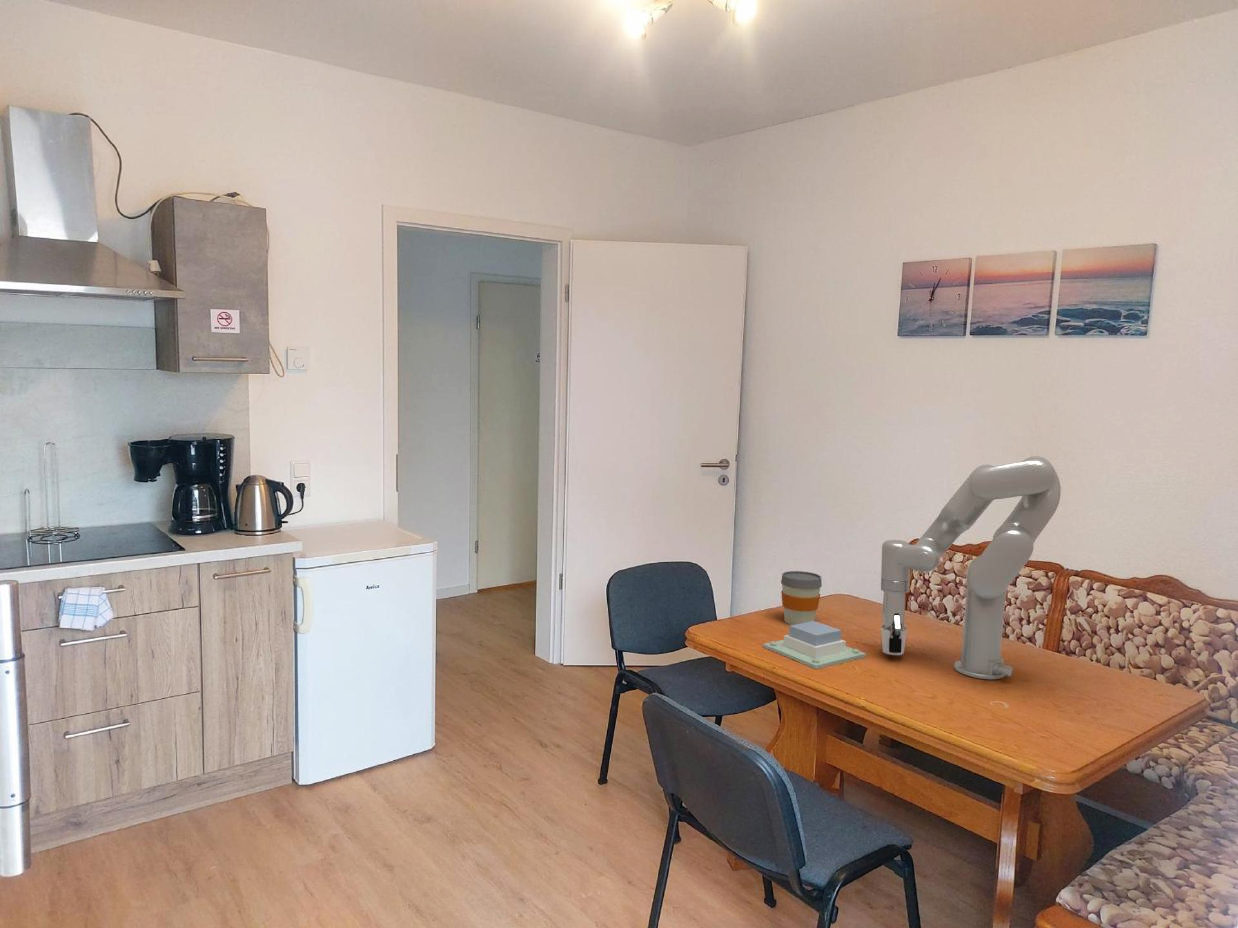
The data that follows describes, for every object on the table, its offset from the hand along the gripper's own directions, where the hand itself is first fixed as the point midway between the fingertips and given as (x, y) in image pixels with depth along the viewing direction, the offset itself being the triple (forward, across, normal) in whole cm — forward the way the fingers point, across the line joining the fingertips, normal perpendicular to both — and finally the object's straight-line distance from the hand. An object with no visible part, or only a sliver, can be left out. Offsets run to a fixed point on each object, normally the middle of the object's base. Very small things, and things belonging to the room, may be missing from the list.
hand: (893, 647), depth 231 cm
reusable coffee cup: (+2, -27, -25) cm, 37 cm away
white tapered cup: (+1, 0, 0) cm, 1 cm away
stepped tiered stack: (+2, +2, -22) cm, 22 cm away
